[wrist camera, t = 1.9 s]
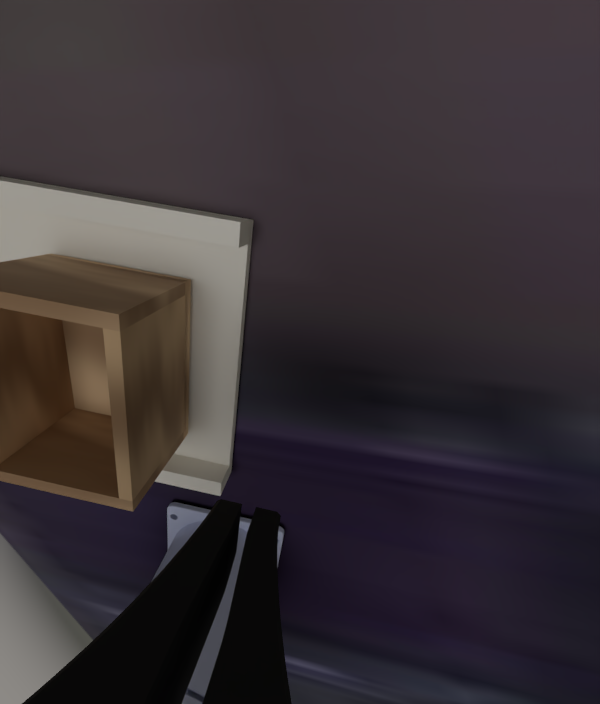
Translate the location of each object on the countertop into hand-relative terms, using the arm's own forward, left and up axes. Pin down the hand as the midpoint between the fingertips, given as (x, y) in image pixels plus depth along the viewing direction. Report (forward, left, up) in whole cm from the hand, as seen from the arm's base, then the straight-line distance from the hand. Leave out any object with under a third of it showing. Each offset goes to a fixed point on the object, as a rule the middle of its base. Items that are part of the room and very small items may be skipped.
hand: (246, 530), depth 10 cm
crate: (0, +9, -9) cm, 12 cm away
